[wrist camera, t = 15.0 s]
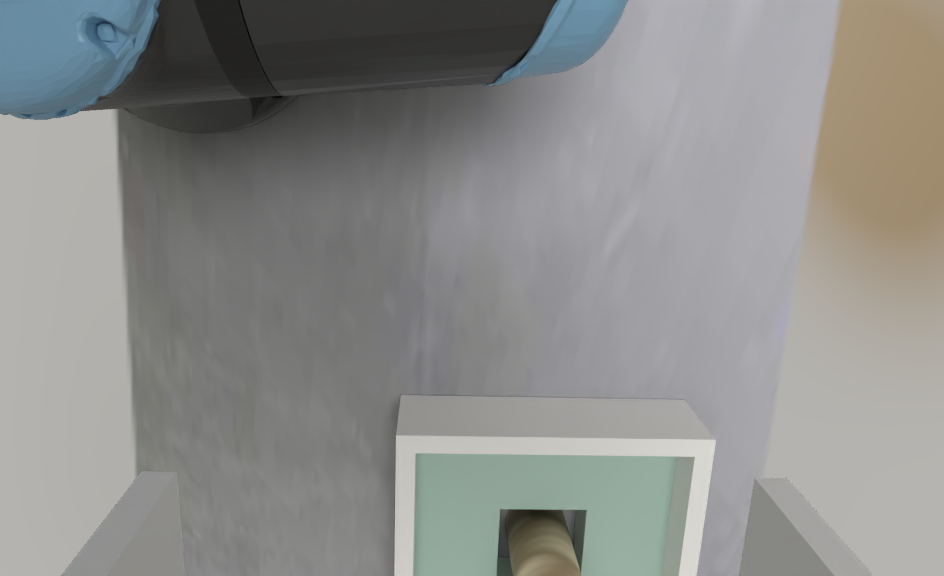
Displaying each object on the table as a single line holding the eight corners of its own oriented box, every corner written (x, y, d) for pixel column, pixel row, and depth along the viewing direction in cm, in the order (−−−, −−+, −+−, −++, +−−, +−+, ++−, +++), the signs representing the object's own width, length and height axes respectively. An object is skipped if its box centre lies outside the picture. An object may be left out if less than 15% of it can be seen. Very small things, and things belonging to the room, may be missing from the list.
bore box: (397, 635, 55) (392, 699, 49) (400, 394, 50) (396, 435, 44) (654, 634, 56) (678, 697, 50) (684, 399, 51) (715, 439, 45)
